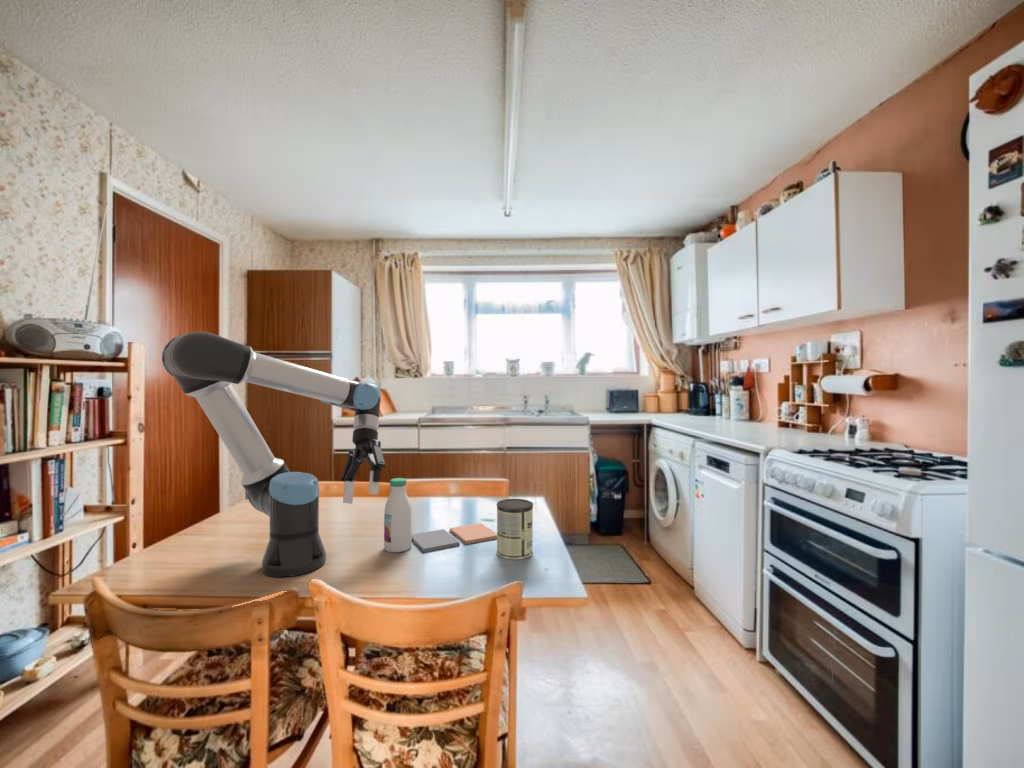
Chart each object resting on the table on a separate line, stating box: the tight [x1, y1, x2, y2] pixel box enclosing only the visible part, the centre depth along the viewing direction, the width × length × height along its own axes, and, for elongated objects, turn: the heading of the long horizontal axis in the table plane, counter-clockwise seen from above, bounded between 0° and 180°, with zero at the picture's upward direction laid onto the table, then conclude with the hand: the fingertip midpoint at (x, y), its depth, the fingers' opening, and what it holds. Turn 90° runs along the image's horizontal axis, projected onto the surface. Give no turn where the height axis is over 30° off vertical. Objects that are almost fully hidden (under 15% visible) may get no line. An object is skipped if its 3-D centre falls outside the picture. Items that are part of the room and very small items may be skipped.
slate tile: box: [412, 528, 461, 553], centre depth 138 cm, size 11×13×1 cm
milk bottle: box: [383, 477, 413, 553], centre depth 133 cm, size 8×8×20 cm
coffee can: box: [496, 498, 534, 561], centre depth 130 cm, size 10×10×14 cm
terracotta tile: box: [449, 522, 497, 545], centre depth 144 cm, size 11×13×1 cm
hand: (360, 498), depth 135 cm, fingers open, 13 cm apart
